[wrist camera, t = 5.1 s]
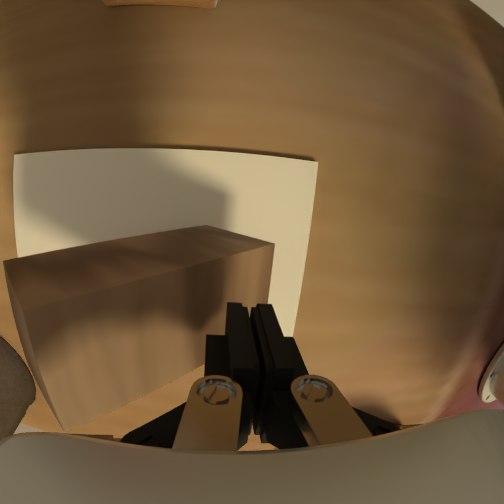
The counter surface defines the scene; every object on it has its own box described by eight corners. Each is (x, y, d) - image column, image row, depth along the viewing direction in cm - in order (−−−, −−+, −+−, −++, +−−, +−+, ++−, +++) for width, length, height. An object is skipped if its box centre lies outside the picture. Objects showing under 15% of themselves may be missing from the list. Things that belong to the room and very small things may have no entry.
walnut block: (274, 243, 16) (22, 311, 6) (264, 328, 17) (64, 432, 8) (206, 224, 18) (3, 260, 9) (202, 299, 20) (27, 361, 10)
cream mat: (316, 162, 18) (318, 162, 18) (287, 353, 22) (288, 356, 22) (17, 154, 16) (14, 154, 15) (34, 329, 20) (32, 331, 19)
